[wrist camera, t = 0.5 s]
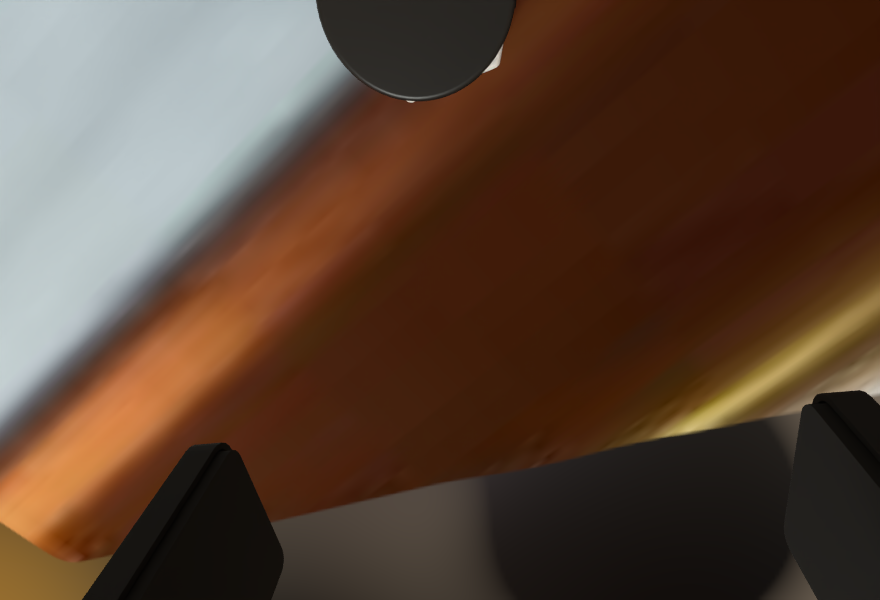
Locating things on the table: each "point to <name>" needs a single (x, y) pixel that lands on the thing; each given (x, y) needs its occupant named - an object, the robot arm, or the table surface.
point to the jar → (417, 42)
